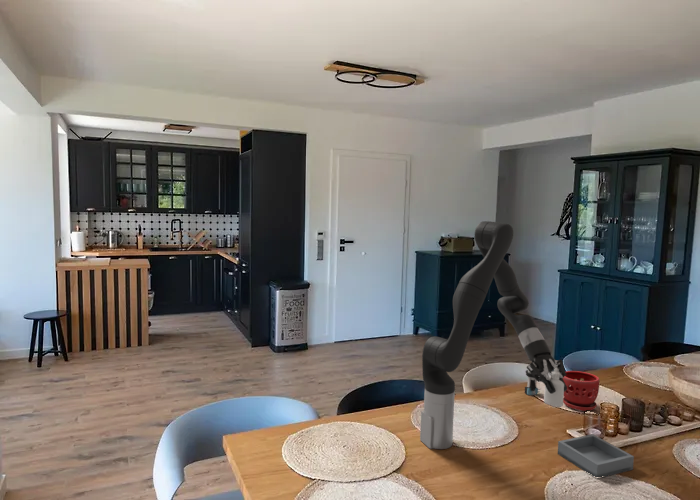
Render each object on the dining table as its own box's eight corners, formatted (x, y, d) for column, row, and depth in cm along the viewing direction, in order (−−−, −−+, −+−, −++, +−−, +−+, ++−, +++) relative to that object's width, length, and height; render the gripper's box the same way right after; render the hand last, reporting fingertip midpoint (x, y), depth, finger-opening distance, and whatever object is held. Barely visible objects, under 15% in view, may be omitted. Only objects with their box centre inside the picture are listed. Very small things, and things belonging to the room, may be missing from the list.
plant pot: (599, 404, 181) (601, 373, 180) (595, 416, 170) (598, 384, 169) (562, 396, 188) (564, 367, 187) (556, 407, 177) (558, 376, 176)
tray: (596, 478, 130) (597, 465, 130) (557, 453, 143) (558, 441, 143) (632, 469, 135) (633, 456, 135) (591, 446, 148) (592, 434, 148)
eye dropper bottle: (552, 400, 157) (554, 365, 156) (565, 407, 152) (567, 370, 151) (541, 401, 156) (544, 366, 155) (553, 408, 150) (556, 372, 149)
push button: (535, 390, 194) (537, 366, 193) (544, 395, 188) (545, 371, 188) (521, 391, 192) (522, 367, 191) (529, 397, 187) (531, 372, 186)
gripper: (523, 340, 156) (548, 389, 146) (556, 337, 161) (583, 384, 151) (511, 351, 162) (535, 399, 152) (544, 347, 167) (568, 394, 157)
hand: (559, 391), depth 151 cm, fingers closed on eye dropper bottle, 4 cm apart
